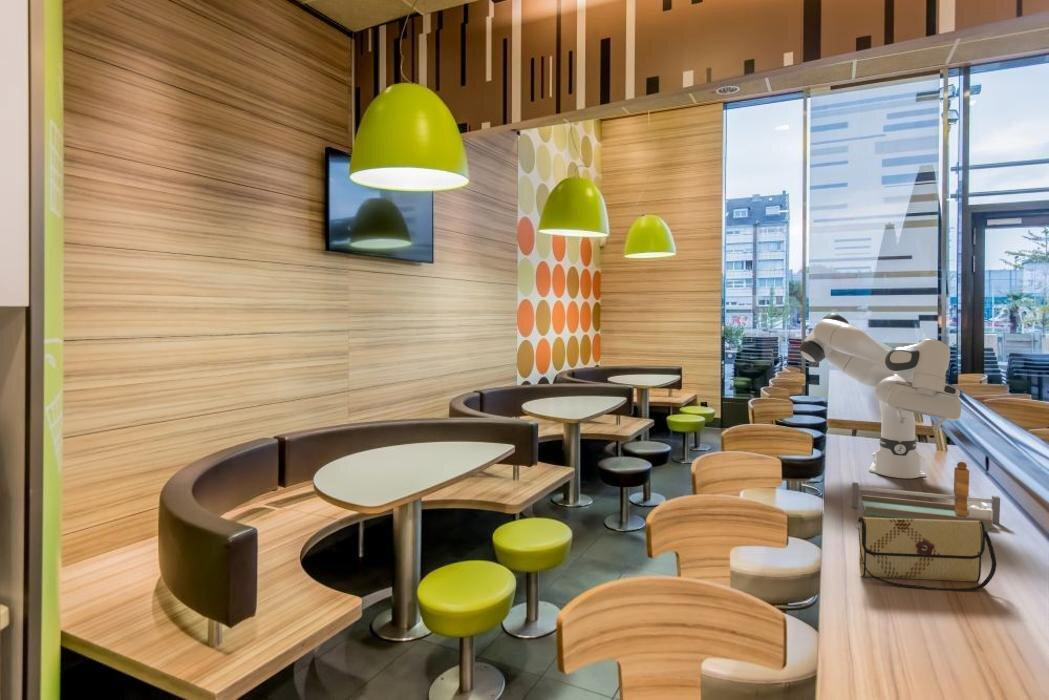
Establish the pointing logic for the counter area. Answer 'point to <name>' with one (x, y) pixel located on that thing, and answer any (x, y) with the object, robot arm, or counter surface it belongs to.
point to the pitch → (925, 506)
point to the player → (961, 488)
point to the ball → (973, 507)
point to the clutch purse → (924, 550)
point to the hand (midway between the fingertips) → (918, 426)
